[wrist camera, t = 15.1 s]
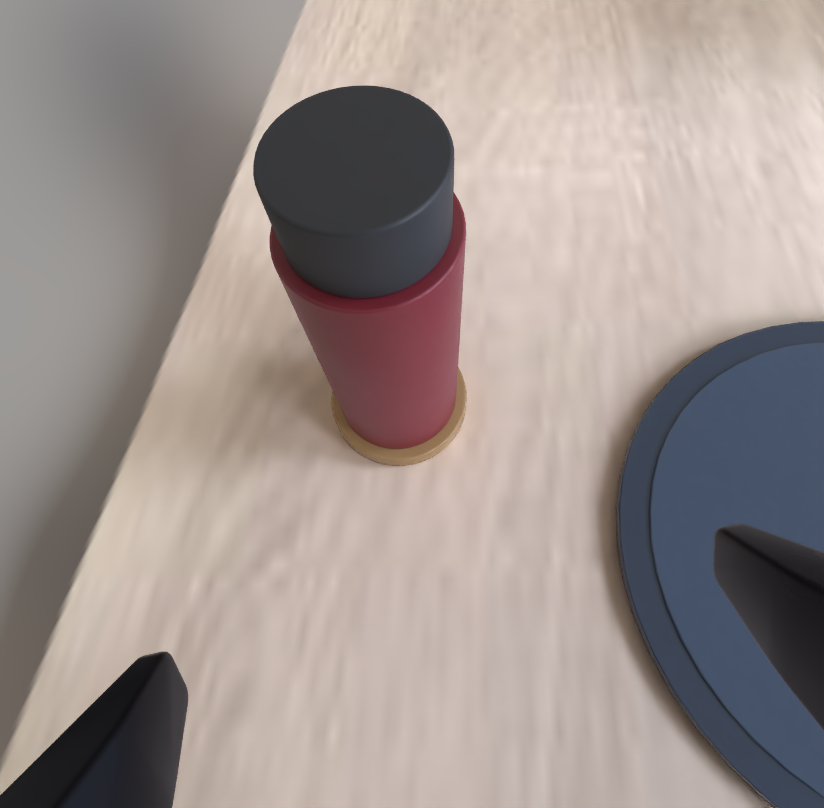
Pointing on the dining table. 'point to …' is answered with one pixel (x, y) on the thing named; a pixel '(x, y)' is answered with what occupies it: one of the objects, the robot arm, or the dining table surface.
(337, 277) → the capped red bottle
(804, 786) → the plate
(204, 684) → the dining table surface
